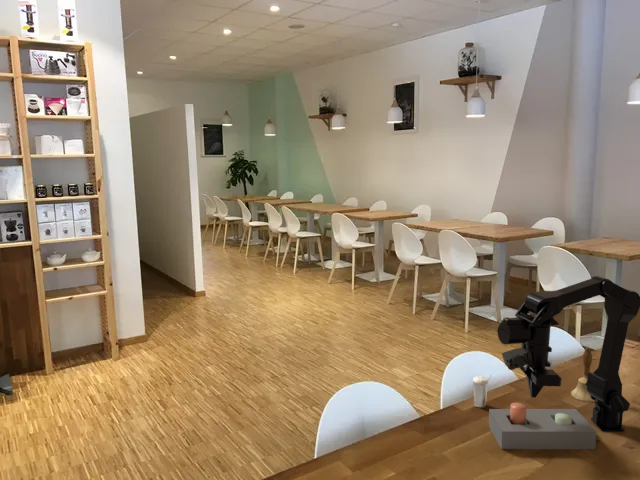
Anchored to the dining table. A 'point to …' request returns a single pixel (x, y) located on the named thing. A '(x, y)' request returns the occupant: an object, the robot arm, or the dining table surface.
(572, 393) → the hand bell
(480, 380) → the milkshake
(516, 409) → the terracotta plug
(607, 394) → the robot arm
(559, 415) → the sage plug
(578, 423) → the console
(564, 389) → the dining table surface
